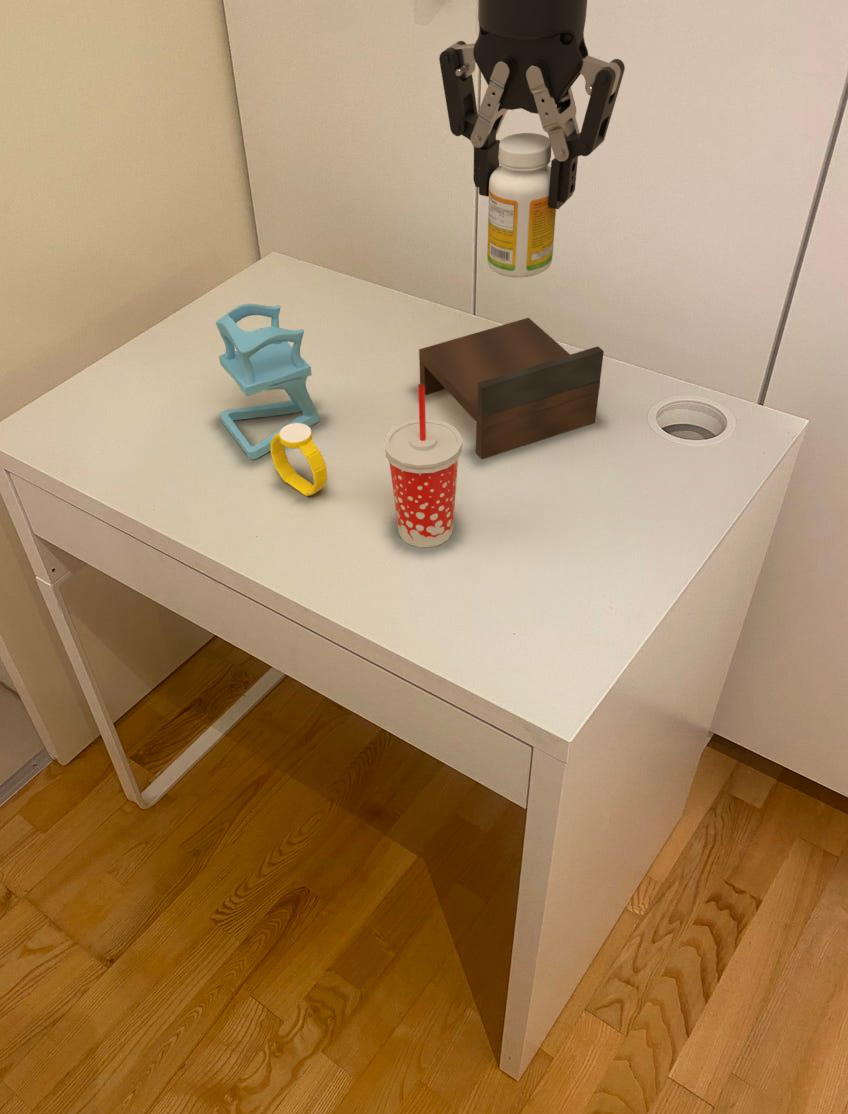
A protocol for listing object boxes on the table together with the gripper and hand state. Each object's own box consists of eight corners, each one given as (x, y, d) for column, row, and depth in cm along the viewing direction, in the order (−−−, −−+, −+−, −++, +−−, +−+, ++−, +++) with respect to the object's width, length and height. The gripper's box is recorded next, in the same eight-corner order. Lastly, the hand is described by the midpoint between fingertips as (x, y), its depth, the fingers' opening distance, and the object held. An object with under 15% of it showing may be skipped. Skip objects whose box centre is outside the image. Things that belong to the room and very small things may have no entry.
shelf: (526, 357, 101) (530, 288, 95) (595, 422, 92) (604, 350, 87) (419, 389, 98) (417, 320, 93) (481, 459, 90) (483, 387, 84)
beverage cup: (457, 556, 81) (458, 410, 71) (384, 551, 82) (374, 406, 72) (465, 508, 85) (466, 364, 75) (395, 504, 86) (387, 361, 76)
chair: (330, 433, 94) (318, 316, 85) (250, 461, 92) (229, 344, 83) (297, 394, 99) (282, 281, 90) (220, 420, 97) (197, 306, 88)
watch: (268, 480, 90) (258, 425, 85) (291, 466, 91) (282, 411, 86) (313, 508, 86) (305, 452, 82) (336, 493, 88) (329, 437, 83)
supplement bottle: (550, 248, 84) (559, 127, 77) (553, 279, 81) (562, 155, 73) (487, 249, 85) (490, 129, 78) (486, 279, 81) (489, 157, 74)
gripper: (658, -62, 66) (626, 195, 78) (466, -75, 71) (464, 166, 84) (615, -32, 62) (588, 235, 74) (414, -48, 67) (420, 202, 80)
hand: (522, 197), depth 79 cm, fingers closed on supplement bottle, 5 cm apart
